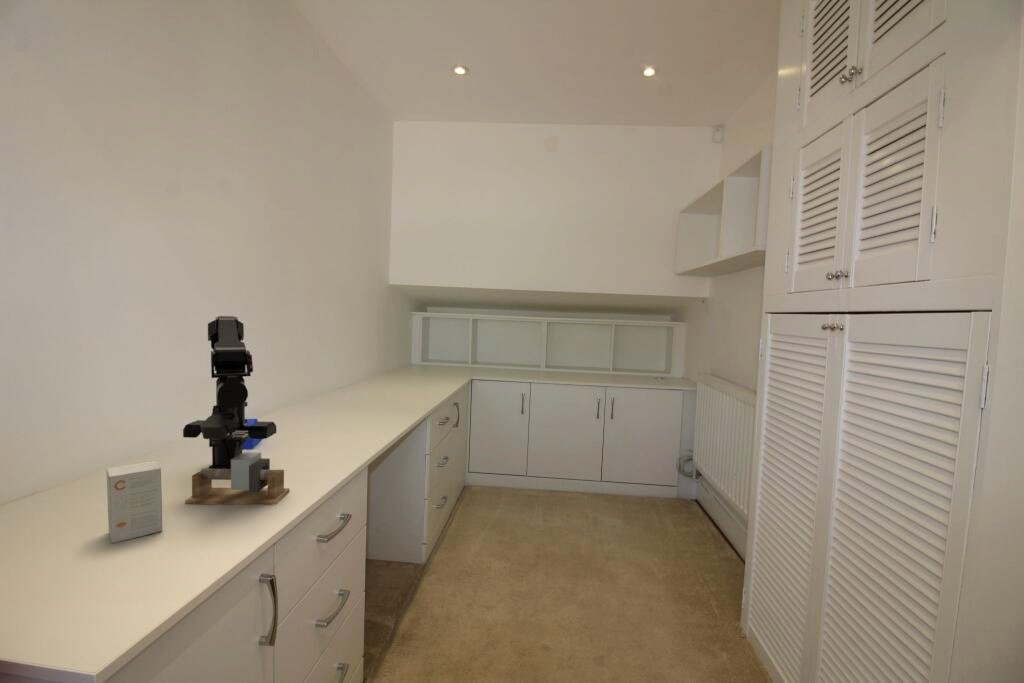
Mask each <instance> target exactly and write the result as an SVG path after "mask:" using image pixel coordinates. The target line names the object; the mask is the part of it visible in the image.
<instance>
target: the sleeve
mask: <svg viewBox="0 0 1024 683" xmlns="http://www.w3.org/2000/svg"><path fill="white" fill-rule="evenodd" d="M261 458H262V452H261V451H259V452H257V451H254V452H253V451H244V452H243V451H242V454H240V455H238V456H237V457H235V458H233V459H231V468H230V469H231V480H230V488H231V490H249V466H250V465H252V464H253V463H255V462H256V461H258V460H260V459H261Z"/></svg>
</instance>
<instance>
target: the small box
mask: <svg viewBox="0 0 1024 683" xmlns="http://www.w3.org/2000/svg"><path fill="white" fill-rule="evenodd" d="M106 488H107V489H106V490H107V492H106V493H107V517H108V518H107V520H108V533H109V534H108V535H109V538H110V542H111V544H115V543H120V542H123V541H127V540H131V539H135V538H139V537H143V536H147V535H151V534H155V533H161V532H163V494H162V492H163V491H162V468H161V467H160V465H159V463H158V462H157V461H156V460H152V461H145V462H140V463H132V464H126V465H120V466H114V467H107V468H106Z"/></svg>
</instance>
